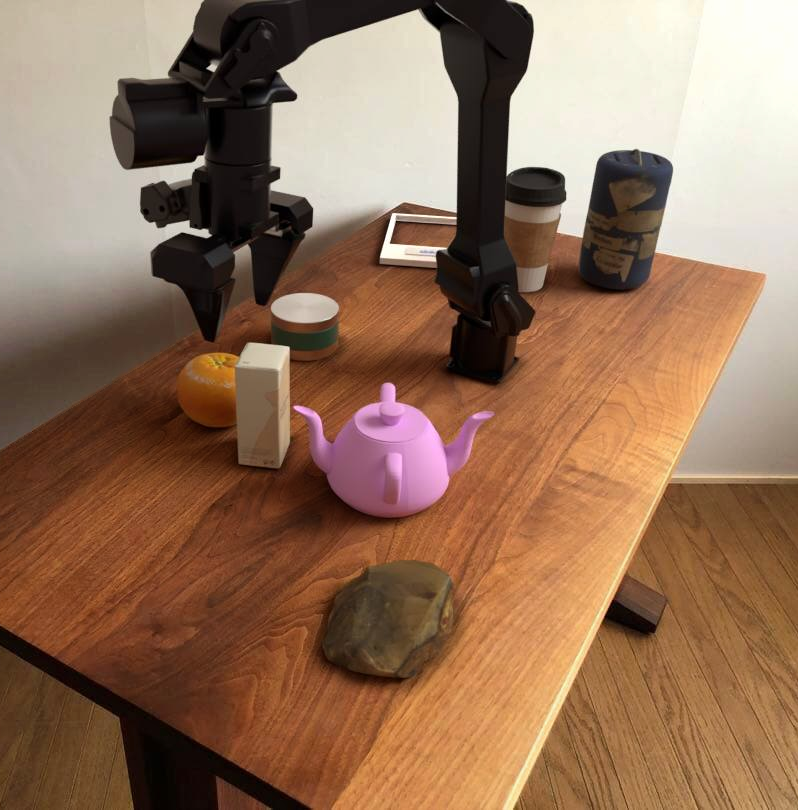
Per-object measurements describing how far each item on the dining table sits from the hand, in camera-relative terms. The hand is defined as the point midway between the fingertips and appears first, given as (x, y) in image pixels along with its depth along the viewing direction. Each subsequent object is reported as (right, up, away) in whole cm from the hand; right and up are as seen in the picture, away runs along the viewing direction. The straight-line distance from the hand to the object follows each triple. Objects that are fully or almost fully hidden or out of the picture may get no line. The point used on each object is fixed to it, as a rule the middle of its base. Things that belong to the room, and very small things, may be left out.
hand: (236, 322), depth 86 cm
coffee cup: (+36, +9, +39) cm, 54 cm away
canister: (+49, +9, +40) cm, 64 cm away
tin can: (+6, 0, +24) cm, 25 cm away
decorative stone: (+13, -26, -14) cm, 32 cm away
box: (+2, -13, +5) cm, 14 cm away
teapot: (+14, -16, +1) cm, 21 cm away
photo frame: (+26, +16, +51) cm, 59 cm away
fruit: (-3, -9, +11) cm, 15 cm away
